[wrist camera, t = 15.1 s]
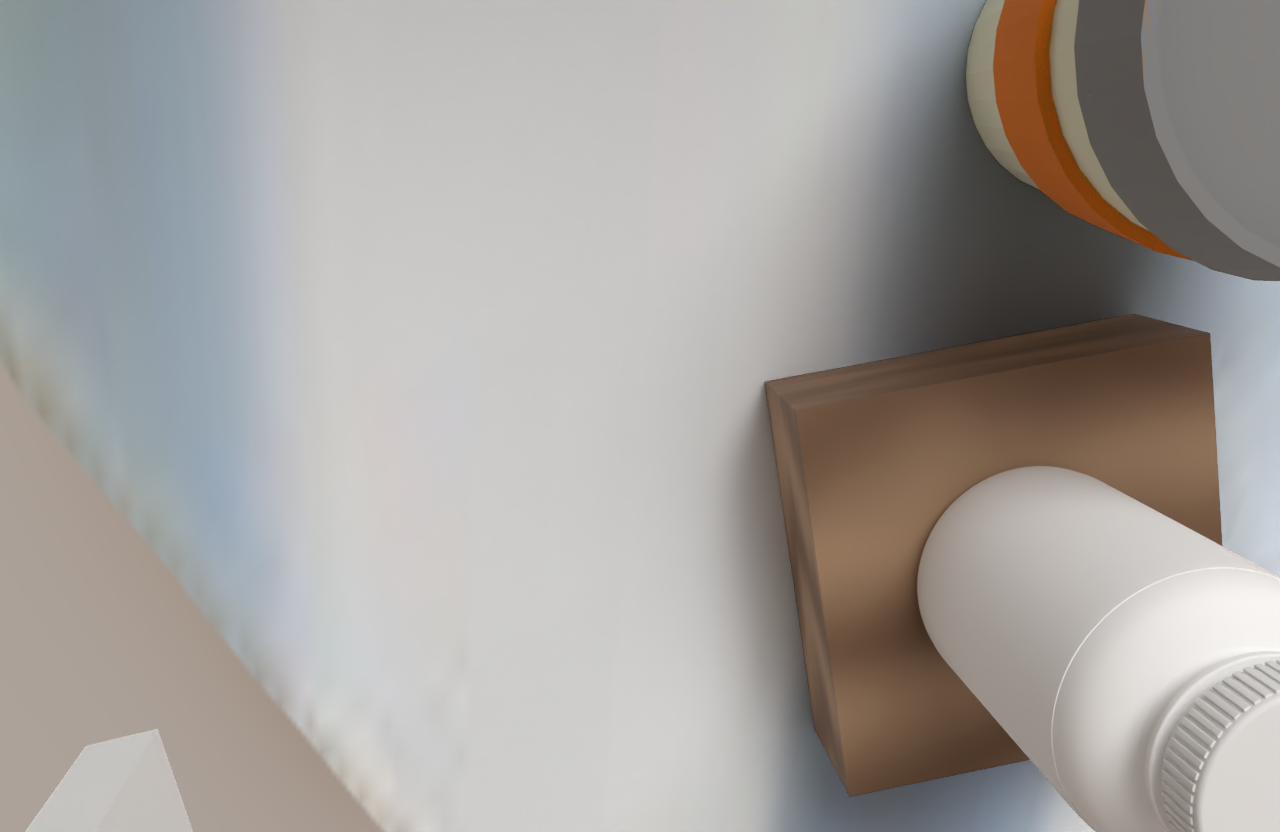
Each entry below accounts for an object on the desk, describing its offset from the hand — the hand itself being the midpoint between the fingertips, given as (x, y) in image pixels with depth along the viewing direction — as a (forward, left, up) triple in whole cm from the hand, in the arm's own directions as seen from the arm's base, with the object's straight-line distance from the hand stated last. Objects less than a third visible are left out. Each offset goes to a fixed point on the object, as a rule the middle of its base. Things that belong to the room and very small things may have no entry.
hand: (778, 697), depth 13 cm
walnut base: (+10, +13, -30) cm, 34 cm away
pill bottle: (+10, +13, -25) cm, 30 cm away
